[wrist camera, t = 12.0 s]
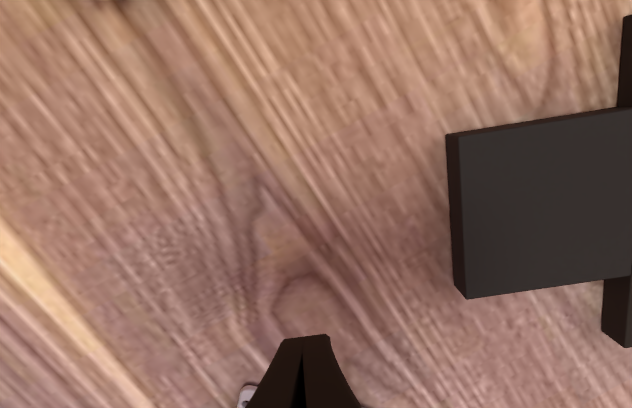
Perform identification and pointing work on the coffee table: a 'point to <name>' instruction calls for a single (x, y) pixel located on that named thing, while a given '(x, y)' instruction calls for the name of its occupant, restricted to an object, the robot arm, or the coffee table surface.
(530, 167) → the graphite pad
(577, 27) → the coffee table surface
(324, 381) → the robot arm
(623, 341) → the black mat
